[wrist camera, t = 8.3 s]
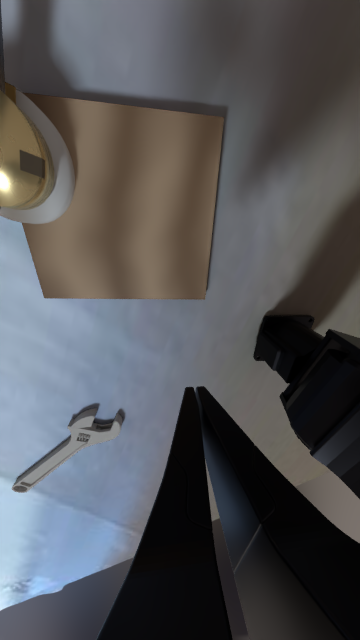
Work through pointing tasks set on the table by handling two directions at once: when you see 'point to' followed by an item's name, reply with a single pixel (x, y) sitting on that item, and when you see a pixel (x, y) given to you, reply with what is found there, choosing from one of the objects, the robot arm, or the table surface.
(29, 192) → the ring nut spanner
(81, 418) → the adjustable wrench
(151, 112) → the brown wooden board
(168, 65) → the table surface
